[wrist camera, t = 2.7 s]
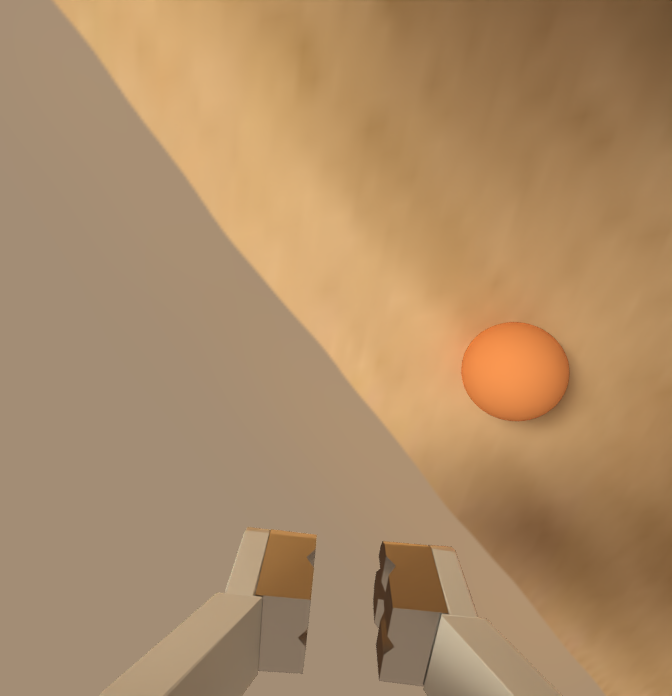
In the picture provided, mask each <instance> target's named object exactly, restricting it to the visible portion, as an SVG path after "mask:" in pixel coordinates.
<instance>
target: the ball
mask: <svg viewBox="0 0 672 696" xmlns="http://www.w3.org/2000/svg"><path fill="white" fill-rule="evenodd" d="M462 380H463V384H464V387H465V389H466V391H467V393H468V395H469V397H470V398H471V399H472V401H473V402H474V403H475V404H476V405H477V406H478V407H479V408H480V409H482V410H483V411H485V412H486V413H488V414H490V415H492V416H494V417H497V418H500V419H503V420H509V421H525V420H530V419H533V418H537V417H539V416H541V415H543V414H545V413H547V412H548V411H550V410H551V409H552V408H553V407H555V406H556V405H557V403H558V402H559V401H560V400H561V398H562V397H563V395H564V393H565V391H566V388H567V386H568V382H569V364H568V360H567V357H566V355H565V352H564V350H563V349H562V347H561V346H560V344H559V343H558V342H557V341H556V339H555V338H553V337H552V336H551V335H550V334H549V333H547V332H546V331H544V330H543V329H540V328H538V327H536V326H533V325H530V324H526V323H519V322H509V323H503V324H498V325H495V326H492V327H490V328H488V329H486V330H485V331H483V332H481V333H480V334H479V335H478V336H477V337H476V338H475V339H474V340H473V341H472V342H471V343H470V345H469V346H468V348H467V350H466V352H465V354H464V357H463V361H462Z"/></svg>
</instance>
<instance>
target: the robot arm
mask: <svg viewBox="0 0 672 696" xmlns="http://www.w3.org/2000/svg"><path fill="white" fill-rule="evenodd" d="M316 537H317V535H314V534H306V533H297V532H290V531H282V530H274V529H271V530H269V529H261V528H254V527H247V529H246V530H245V532H244V535H243V537H242V541H241V544H240V547H239V550H238V553H237V556H236V559H235V562H234V565H233V568H232V571H231V575H230V578H229V581H228V584H227V587H226V590H225V593H216V594H215V595H213V596H212V597H211V598H210V599H209V600H208V601H207V602H206V603H204V604H203V605H202V606H201V607H200V608H198V610H196V611H195V612H194V613H193V614H192V615H190V616H189V617H188V618H187V619H186V620H185V621H183V622H182V623H181V624H180V625H179V626H178V627H177V628H175V629H174V630H173V631H172V632H171V633H170V634H169V635H167V636H166V637H165V638H164V639H163V640H162V641H160V642H159V643H158V644H157V645H156V646H155V647H153V648H152V649H151V650H150V651H149V652H148V653H146V654H145V655H144V656H143V657H142V658H141V659H140V660H138V661H137V662H136V663H135V664H134V665H133V666H131V667H130V668H129V669H128V670H127V671H126V672H124V673H123V674H122V675H121V676H120V677H119V678H118V679H117V680H115V681H114V682H113V683H112V684H111V685H109V686H108V687H107V688H106V689H105V690H104V691H103V692H101V693H100V695H99V696H242V695H243V694H244V692H245V691H246V690H247V688H248V687H249V686H250V684H251V683H252V681H253V680H254V679H255V677H256V676H257V674H258V671H268V672H285V673H300V674H303V667H304V658H305V650H306V640H307V629H308V623H309V613H310V603H311V592H312V582H313V572H314V558H315V548H316ZM379 562H380V569H379V570H378V571H377V572H376V576H375V583H374V597H373V606H374V608H373V609H374V623H375V624H376V625H377V627H378V628H379V630H378V636H377V642H376V650H377V662H378V674H379V681H384V682H392V683H400V684H408V685H416V686H424V688H423V689H424V691H425V693H426V694H427V696H563V695H562V694H561V693H560V692H559V691H558V690H557V689H556V688H555V687H554V686H553V685H552V684H551V683H550V682H549V681H548V680H547V679H546V678H545V677H544V676H543V675H542V674H541V673H540V672H539V671H538V670H537V669H536V668H535V667H534V666H533V665H532V664H531V663H530V662H529V661H528V660H527V659H526V658H525V657H524V656H523V655H522V654H521V653H520V652H519V651H518V650H517V649H516V648H515V647H514V646H513V645H512V644H511V643H510V642H509V641H508V640H507V639H506V638H505V637H504V636H503V635H502V634H501V633H500V632H499V631H498V630H497V629H496V628H495V627H494V626H493V625H492V624H491V623H490V622H489V621H488V620H487V619H486V618H479V617H478V615H477V612H476V609H475V606H474V603H473V600H472V597H471V594H470V591H469V589H468V586H467V583H466V580H465V577H464V574H463V571H462V569H461V566H460V563H459V560H458V557H457V554H456V551H455V550H454V549H453V548H452V547H448V546H447V547H446V546H435V545H429V546H427V545H420V544H409V543H398V542H386V541H382V544H381V547H380V552H379Z"/></svg>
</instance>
